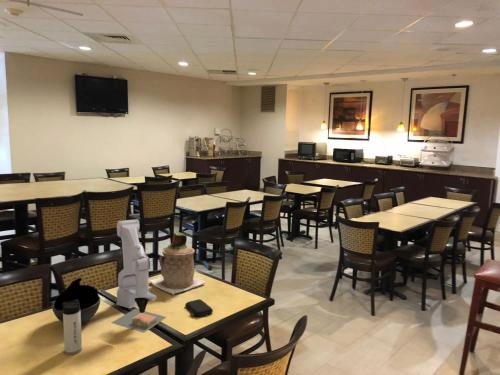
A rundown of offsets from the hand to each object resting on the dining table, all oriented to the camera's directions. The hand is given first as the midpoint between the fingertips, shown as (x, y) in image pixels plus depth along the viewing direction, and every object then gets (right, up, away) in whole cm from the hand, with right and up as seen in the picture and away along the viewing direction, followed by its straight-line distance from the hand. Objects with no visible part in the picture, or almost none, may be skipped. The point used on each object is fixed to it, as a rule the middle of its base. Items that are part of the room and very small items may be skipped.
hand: (142, 312), depth 174 cm
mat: (-2, -5, +3) cm, 6 cm away
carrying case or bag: (+23, -5, +15) cm, 28 cm away
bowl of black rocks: (-30, -5, 0) cm, 30 cm away
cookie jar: (+7, +1, +47) cm, 47 cm away
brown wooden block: (-3, -3, +2) cm, 5 cm away
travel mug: (-22, -8, -22) cm, 32 cm away
